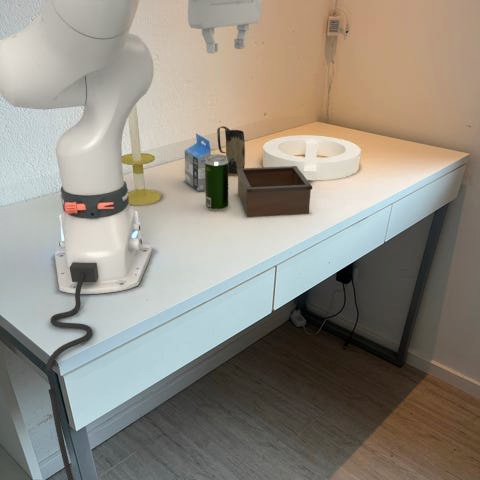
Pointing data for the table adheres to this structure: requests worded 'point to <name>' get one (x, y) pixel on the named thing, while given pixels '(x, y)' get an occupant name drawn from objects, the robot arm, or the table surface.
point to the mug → (233, 149)
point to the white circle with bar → (313, 156)
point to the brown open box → (273, 191)
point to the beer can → (216, 182)
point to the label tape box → (196, 163)
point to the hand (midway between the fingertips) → (226, 50)
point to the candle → (138, 166)
